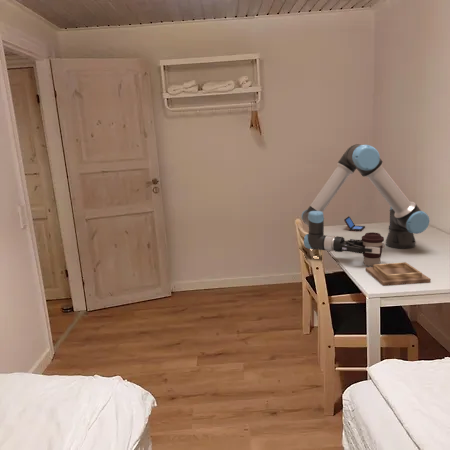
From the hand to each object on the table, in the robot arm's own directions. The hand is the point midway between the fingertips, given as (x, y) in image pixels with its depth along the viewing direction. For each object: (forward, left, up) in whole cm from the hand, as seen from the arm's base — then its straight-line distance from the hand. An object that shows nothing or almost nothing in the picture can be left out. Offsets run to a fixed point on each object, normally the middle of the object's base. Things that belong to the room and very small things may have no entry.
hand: (382, 248), depth 204 cm
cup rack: (0, +15, -9) cm, 18 cm away
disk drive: (-35, -61, -9) cm, 71 cm away
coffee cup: (+4, -3, -9) cm, 10 cm away
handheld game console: (-13, -74, -9) cm, 76 cm away
